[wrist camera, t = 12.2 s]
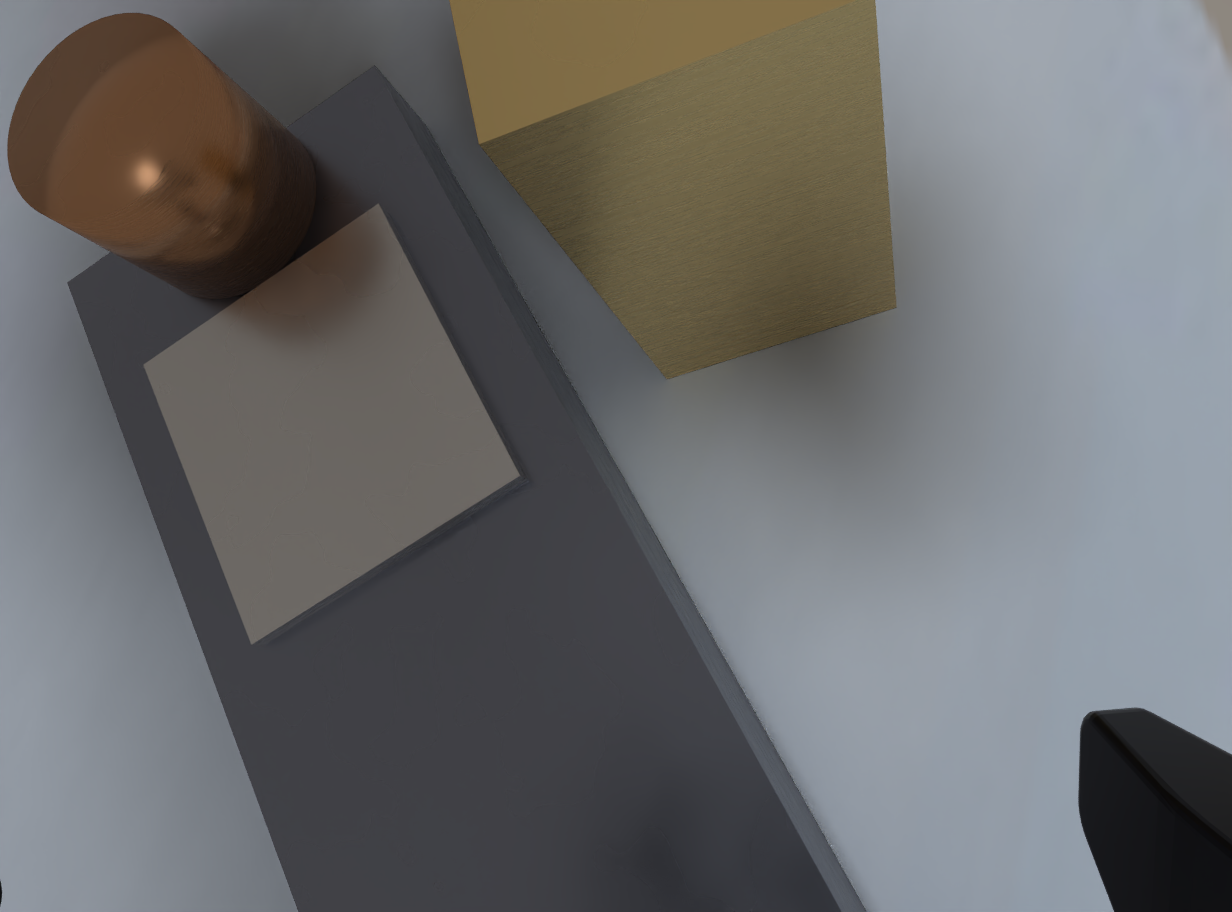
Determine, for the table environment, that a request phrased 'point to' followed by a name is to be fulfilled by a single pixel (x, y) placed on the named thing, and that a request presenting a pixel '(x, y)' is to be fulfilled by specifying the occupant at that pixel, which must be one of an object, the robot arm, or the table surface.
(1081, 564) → the table surface
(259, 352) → the plane body
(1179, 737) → the robot arm
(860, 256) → the brushed brass block
